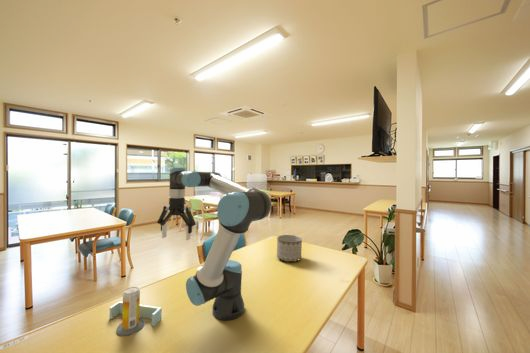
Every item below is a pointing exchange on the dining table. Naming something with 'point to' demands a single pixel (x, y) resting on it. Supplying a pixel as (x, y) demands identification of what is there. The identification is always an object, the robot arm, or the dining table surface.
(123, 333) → the coaster
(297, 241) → the planter
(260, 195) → the robot arm
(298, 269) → the dining table surface
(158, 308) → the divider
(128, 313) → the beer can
